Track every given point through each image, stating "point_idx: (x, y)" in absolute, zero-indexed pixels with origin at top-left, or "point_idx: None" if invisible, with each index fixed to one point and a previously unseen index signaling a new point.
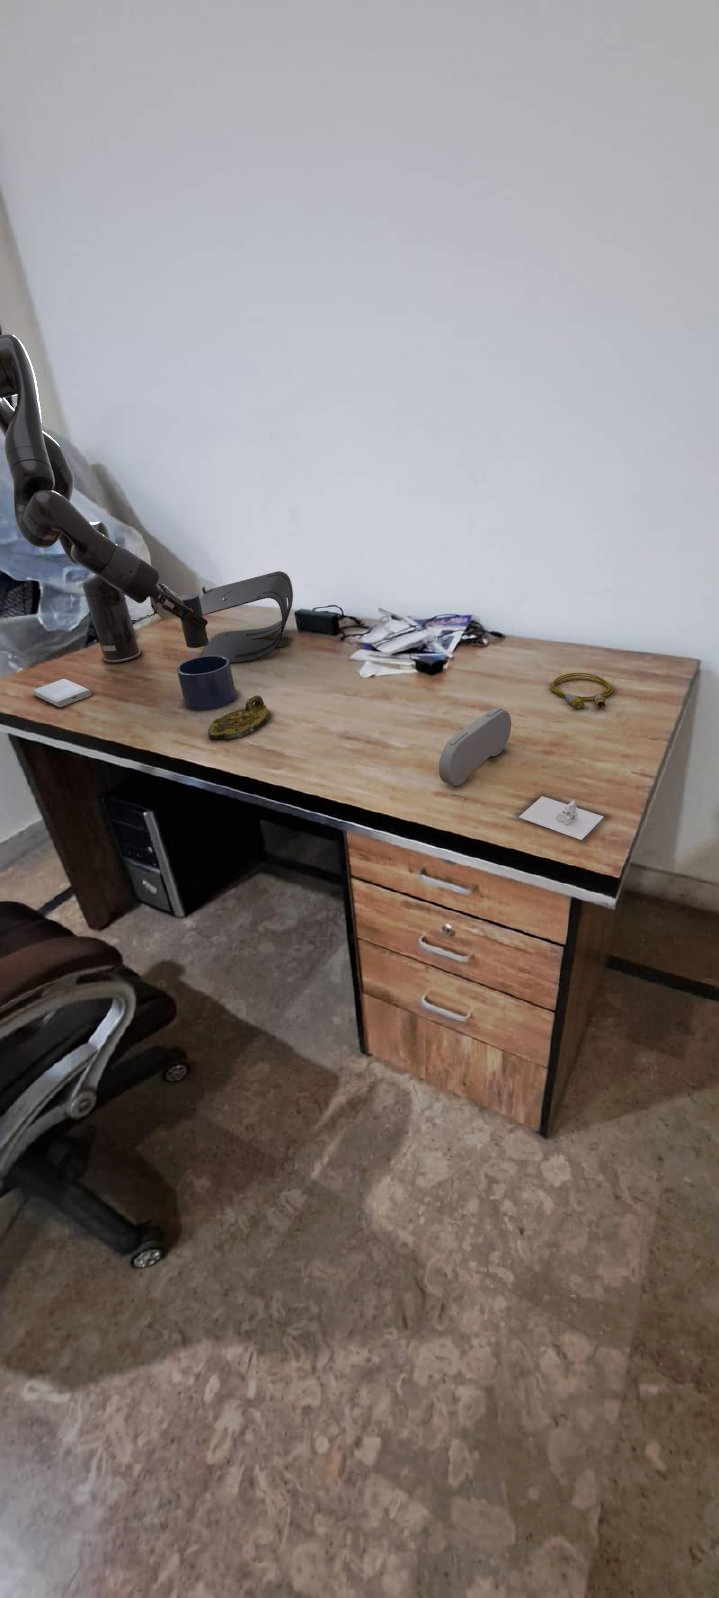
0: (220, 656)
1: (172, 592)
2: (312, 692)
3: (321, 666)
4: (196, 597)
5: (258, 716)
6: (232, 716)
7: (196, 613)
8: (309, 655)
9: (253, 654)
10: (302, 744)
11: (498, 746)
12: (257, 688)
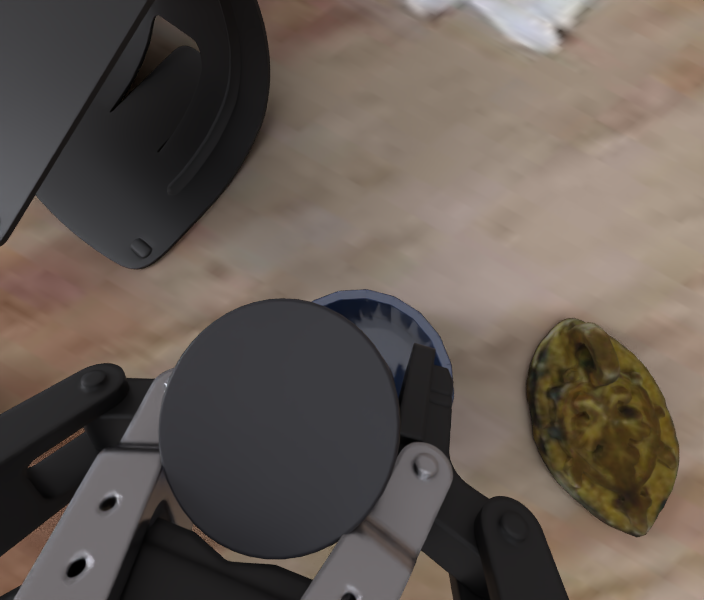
0: (332, 298)
1: (121, 577)
2: (538, 177)
3: (408, 82)
4: (385, 366)
5: (640, 375)
6: (587, 428)
7: (412, 408)
8: (322, 67)
9: (208, 156)
10: None
11: None
12: (402, 257)
